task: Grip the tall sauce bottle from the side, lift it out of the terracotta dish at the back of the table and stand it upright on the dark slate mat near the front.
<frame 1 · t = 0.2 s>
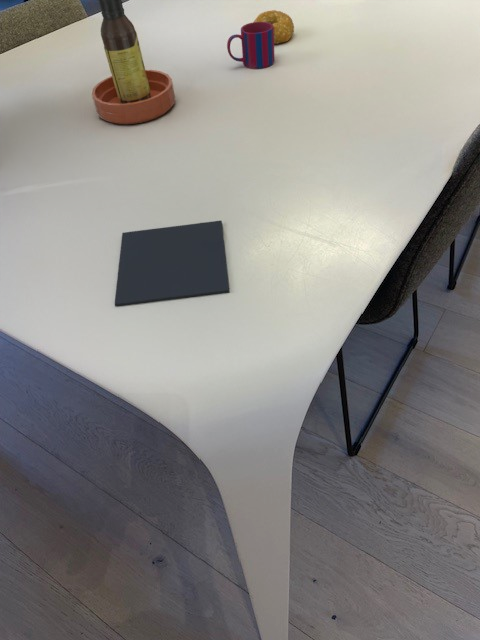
dish: (137, 107, 96), on the table
mug: (251, 64, 105), on the table
sauce bottle: (136, 105, 96), resting on dish
mat: (172, 261, 64), on the table
bagel: (271, 39, 114), on the table
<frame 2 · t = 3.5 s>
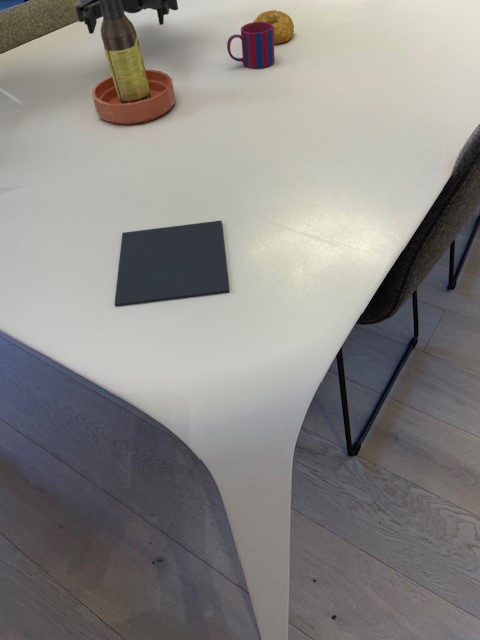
hand: (124, 21, 94), 12 cm above the table, tool horizontal, fingers open, 13 cm apart
nothing on the table moved.
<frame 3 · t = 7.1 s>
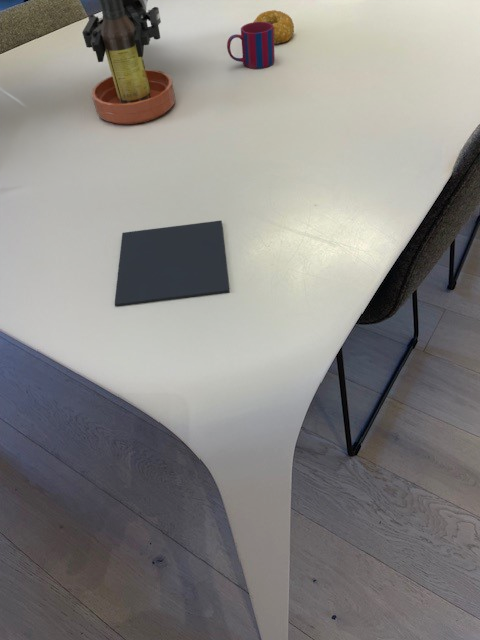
hand: (118, 50, 84), 12 cm above the table, tool horizontal, fingers closed on sauce bottle, 6 cm apart
sauce bottle: (136, 105, 96), resting on dish, touching gripper
everything else where it was.
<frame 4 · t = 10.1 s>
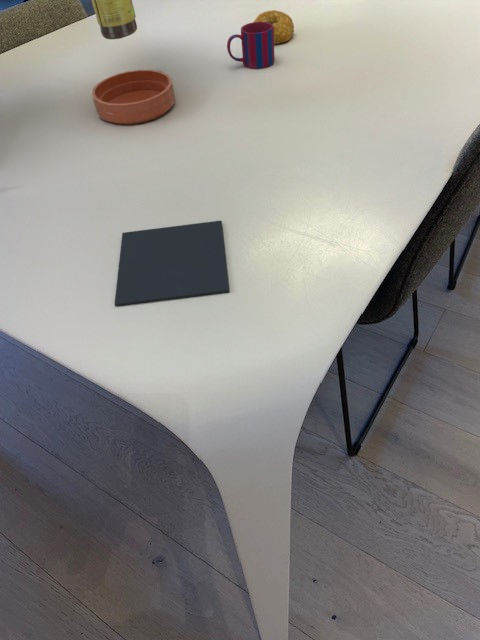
sauce bottle: (120, 35, 83), point 14 cm above the table, touching gripper
everything else where it was.
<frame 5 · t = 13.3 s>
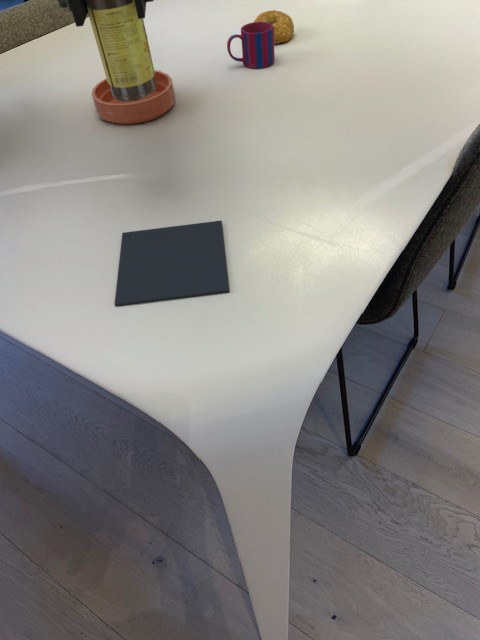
hand: (107, 8, 54), 26 cm above the table, tool horizontal, fingers closed on sauce bottle, 6 cm apart
sauce bottle: (134, 94, 66), point 14 cm above the table, touching gripper
everything else where it was.
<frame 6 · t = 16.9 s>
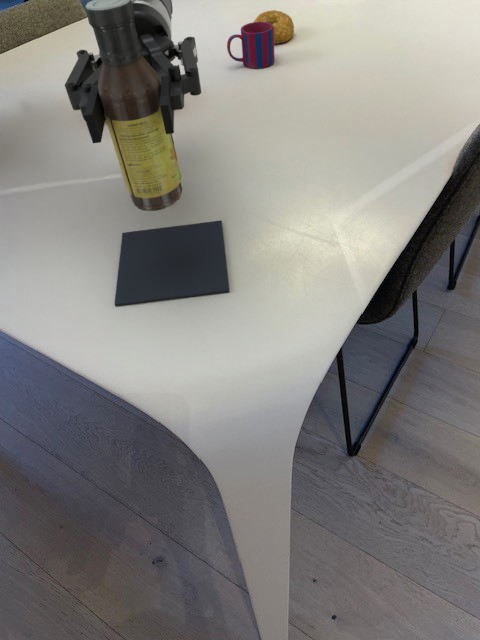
hand: (129, 124, 45), 21 cm above the table, tool horizontal, fingers closed on sauce bottle, 6 cm apart
sauce bottle: (157, 199, 57), point 10 cm above the table, touching gripper
everything else where it was.
when the fingers open (12 cm above the table, at t = 19.8 s): sauce bottle stays where it is, resting on mat.
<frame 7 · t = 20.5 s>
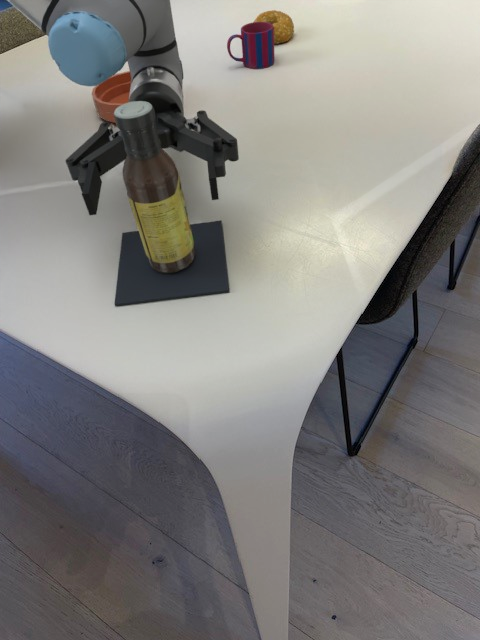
hand: (151, 197, 53), 12 cm above the table, tool horizontal, fingers open, 13 cm apart
sauce bottle: (172, 260, 64), resting on mat
everything else where it was.
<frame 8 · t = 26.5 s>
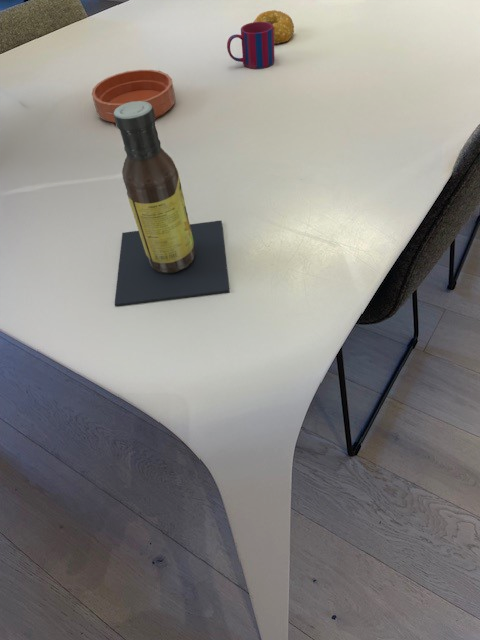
nothing on the table moved.
at the end: sauce bottle inside the target area on the mat (0.0 cm from its centre), point 0.2 cm above the mat's base; sauce bottle tilted 0°; the gripper is holding nothing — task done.
